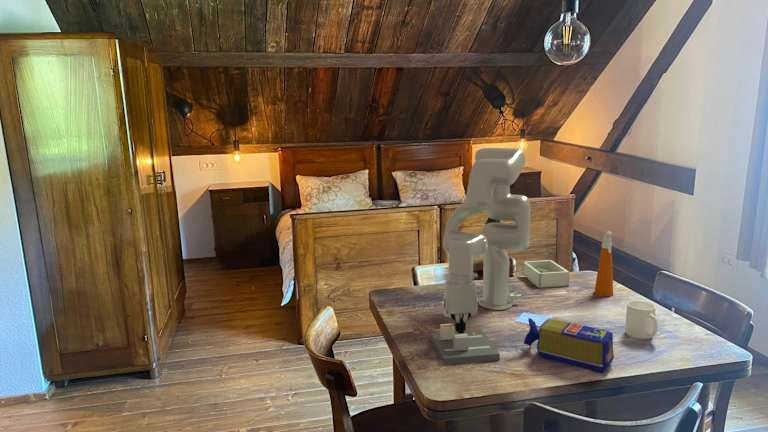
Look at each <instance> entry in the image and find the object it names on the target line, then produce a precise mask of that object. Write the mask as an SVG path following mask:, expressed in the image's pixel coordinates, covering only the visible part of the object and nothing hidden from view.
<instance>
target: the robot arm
mask: <svg viewBox="0 0 768 432" xmlns="http://www.w3.org/2000/svg"><path fill="white" fill-rule="evenodd" d="M474 156H475V157H474V159H475V161H474V162H473V164H472V166H471V170H470V174H469V175H470V176H469V180H468V185H467V190H466V193H465V199H464V201H463V202H462V203H461V204H459V206H457V207H456V208H455V209H454V210H453V212H451V214H450V216H449V217H448V219H447V221H446V224H445V229H444V232H443V233H444V234H443V238H442V246H443V250H444V251H445V253H447V254H448V280H445V284H444V291H443V301H442V303H443V310H444V311H443V316H444V317H446V318H451V319H452V320H454V323H455V324H454V327H455V331H457V332H458V334H464V331H467V322H468V320H469V319H470V318H472V317H473V316H477V315H478V306H480V307H482V308H484V309H487V310H494V311H503V310H504V311H505V310H508V309H510V308H512V307H513V300H517V301H518V300H521V299H522V295H521V293H518V294H516V292H510V289H509V287H510V282H509V281H510V258H509V256H508V253H507V252H506V251H507V250H508V251H518V252H523V251H524V252H525V251H526V250H527V249H529V246H530V241H531V218H532V217H531V214H532V213H531V212H532V211H531V209H532V208H531V203H530V202H531V201H530V199H529V198H528V197H527V196H526V195H522V194H511V189H510V187H511V185H513V184H514V183H515V182H516V180H517V179H518V178H519V176H520V175H521V173H522V172H523V170H524V168H525V166H526V165H525V164H526V155H525V152H524V150H523V149H520V148H517V147H516V148H515V147H510V148H506V147H484V148H479V149H478V150H477V151H476V152H475V154H474ZM484 211H485V213H486V216H487V218H488V217H489V218H491V219H497V220H500V221H508V222H509V221H511V222H515V223H505V222H501V223H488V224H486V223H485V224H486V225H485V224H484V225H483V227H482V228H481V231H480V233H475V232H466V231H457V230H458V227H459V225H460V224H461V223H462V222H463V221H464V220H465V219H467V218H469V217H471V216H473V215H476V214H479V213H482V212H484ZM482 256H483V257H482ZM481 257H482V258H483V259H482V260H483V264H482V267H483V270H482V271H483V273H482V297H480V298H479V299H478V293H477V292H478V291H477V285H476V282H475V280H474V279H475V278H478V277H479V276H478V273H477V272H474V259H478V258H481ZM460 314H461V316H460Z"/></svg>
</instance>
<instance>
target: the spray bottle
mask: <svg viewBox="0 0 768 432" xmlns="http://www.w3.org/2000/svg"><path fill="white" fill-rule="evenodd" d="M612 235H613V232H612V231H606V232H604V234H603V238H602V242H601V249H600V255H599V261H598V265H597V266H598V268H597V273H596V280H595V285H594V286H595V287H594V294H595V295H597V296H600V297H610V296H611V297H612V296H613V295H614V282H613V281H614V279H613V278H614V277H613V275H614V274H613V254H612V251H613V249H612V245H613V244H612Z"/></svg>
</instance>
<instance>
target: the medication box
mask: <svg viewBox="0 0 768 432" xmlns="http://www.w3.org/2000/svg"><path fill="white" fill-rule="evenodd" d="M535 269H536V270H537V271H539V272H540V273H547V272H552V271H549V270H545V269H541V268H538V267H537V268H535Z"/></svg>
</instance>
